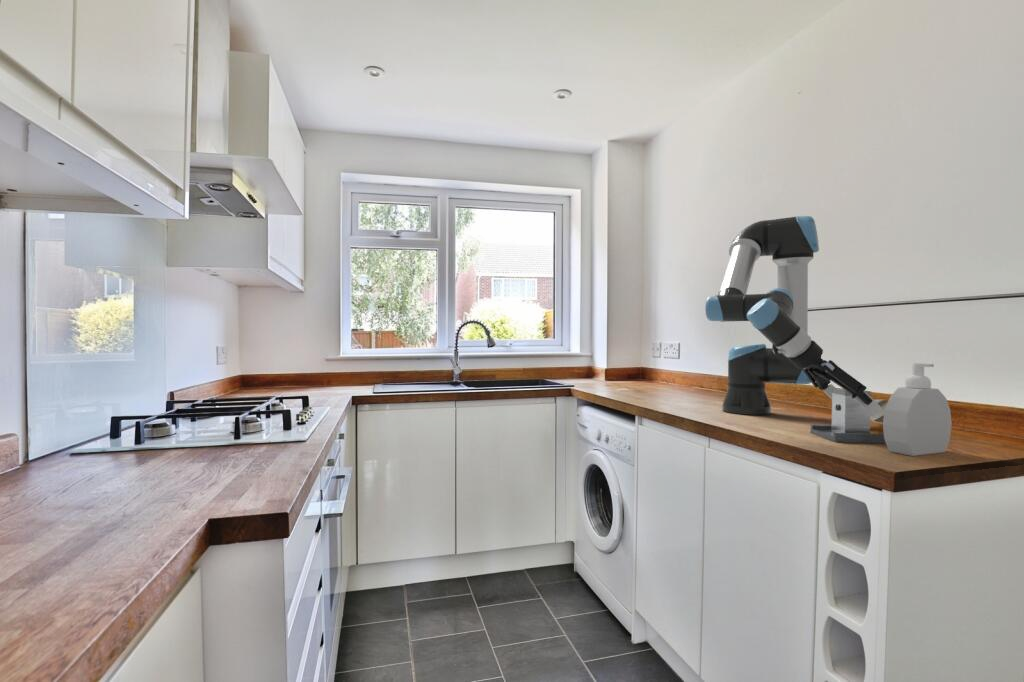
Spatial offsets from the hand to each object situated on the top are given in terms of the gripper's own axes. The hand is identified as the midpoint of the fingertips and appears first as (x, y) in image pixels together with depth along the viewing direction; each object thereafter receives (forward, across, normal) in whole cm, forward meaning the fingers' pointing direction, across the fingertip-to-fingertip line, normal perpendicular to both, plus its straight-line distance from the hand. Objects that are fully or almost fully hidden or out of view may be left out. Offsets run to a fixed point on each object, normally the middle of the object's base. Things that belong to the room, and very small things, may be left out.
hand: (860, 408), depth 127 cm
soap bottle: (+8, +15, -3) cm, 17 cm away
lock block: (+3, 0, -6) cm, 7 cm away
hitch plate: (+4, 0, -7) cm, 8 cm away
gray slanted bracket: (+15, -19, +4) cm, 24 cm away
